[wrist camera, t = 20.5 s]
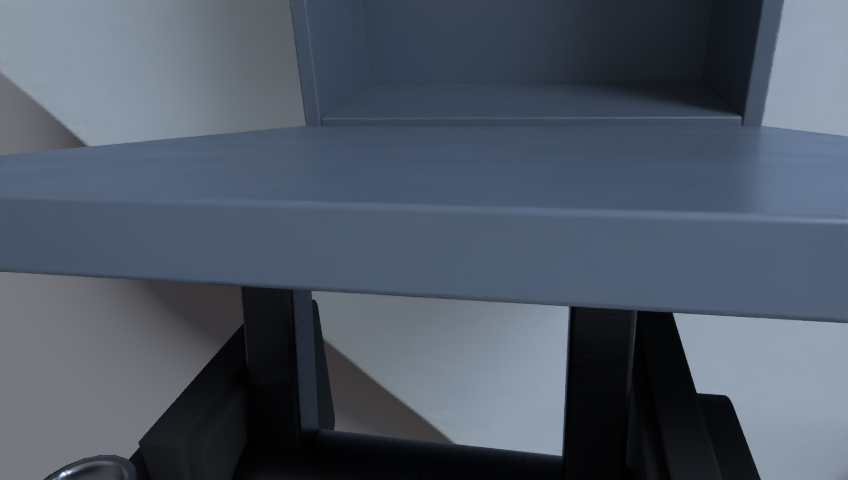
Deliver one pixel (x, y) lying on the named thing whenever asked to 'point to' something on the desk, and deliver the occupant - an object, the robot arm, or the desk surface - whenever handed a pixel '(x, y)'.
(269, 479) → the lid
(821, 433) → the desk surface
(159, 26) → the desk surface
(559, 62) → the open hinged box
